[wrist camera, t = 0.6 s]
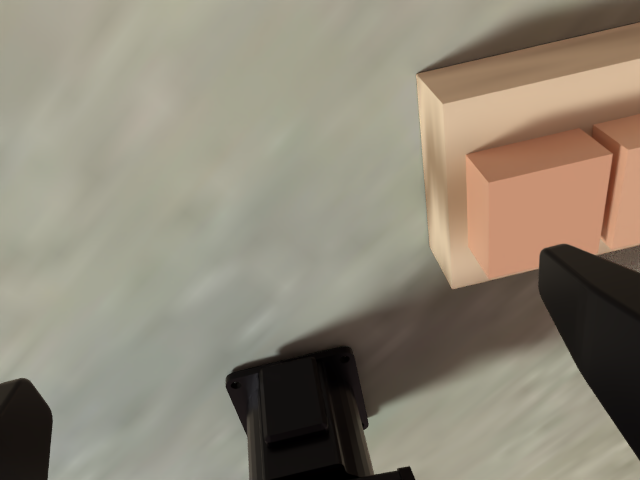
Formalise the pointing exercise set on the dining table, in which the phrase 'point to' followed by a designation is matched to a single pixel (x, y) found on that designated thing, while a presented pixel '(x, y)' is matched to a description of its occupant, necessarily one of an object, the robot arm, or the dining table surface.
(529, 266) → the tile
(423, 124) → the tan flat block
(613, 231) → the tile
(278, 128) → the dining table surface
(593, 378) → the robot arm
